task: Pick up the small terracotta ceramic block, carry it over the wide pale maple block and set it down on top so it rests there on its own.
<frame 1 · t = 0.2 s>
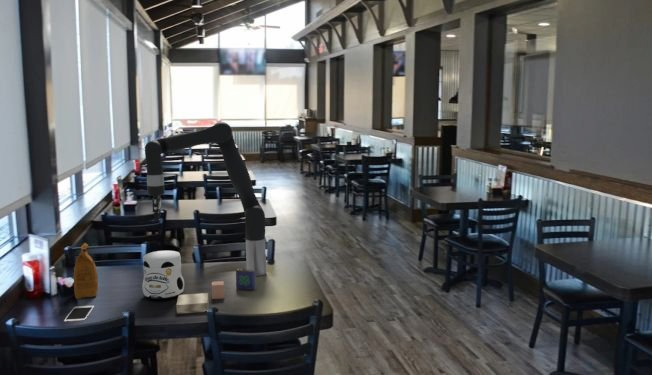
hand: (157, 219, 268), 29 cm above the table, fingers open, 8 cm apart
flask: (245, 290, 257), on the table
milk container: (164, 296, 250), on the table
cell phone: (79, 314, 230), on the table
coffee package: (87, 295, 252), on the table
terracotta block: (218, 296, 248), on the table
maple base: (193, 308, 236), on the table
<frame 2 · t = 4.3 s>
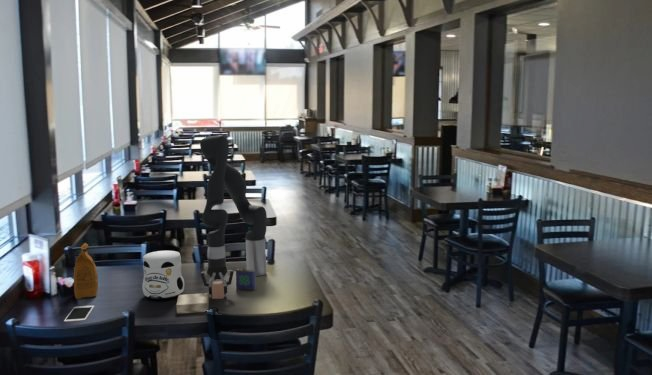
hand: (218, 294, 248), 1 cm above the table, fingers closed on terracotta block, 5 cm apart
terracotta block: (218, 296, 248), on the table, touching gripper
everything else where it was.
when the fingers open (6 cm above the table, at t = 8.8 s): terracotta block drops 1 cm, point 3 cm above the table.
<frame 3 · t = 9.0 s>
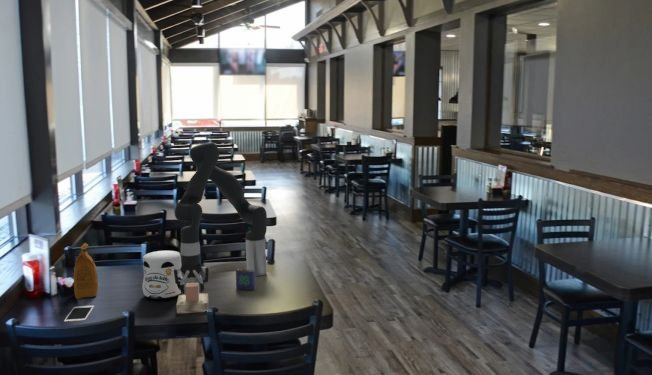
hand: (192, 292, 235), 6 cm above the table, fingers open, 6 cm apart
terracotta block: (192, 298, 235), point 3 cm above the table
everything else where it was.
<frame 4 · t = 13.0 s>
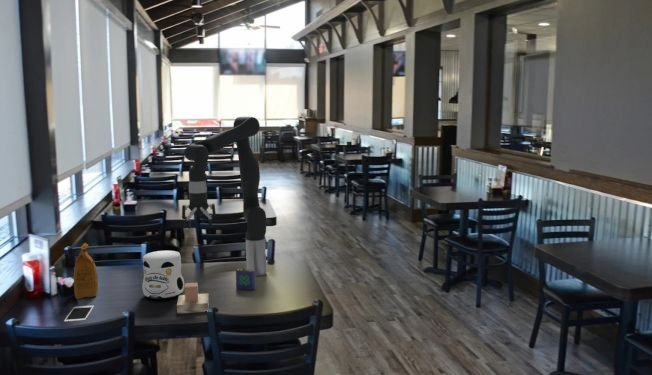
hand: (199, 227, 252), 28 cm above the table, fingers open, 8 cm apart
terracotta block: (191, 299, 235), point 3 cm above the table, touching maple base
maple base: (193, 308, 236), on the table, touching terracotta block
everything else where it was.
at the end: terracotta block inside the target area on the maple base (0.5 cm from its centre), point 4.0 cm above the maple base's base; terracotta block tilted 1°; the gripper is holding nothing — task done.
